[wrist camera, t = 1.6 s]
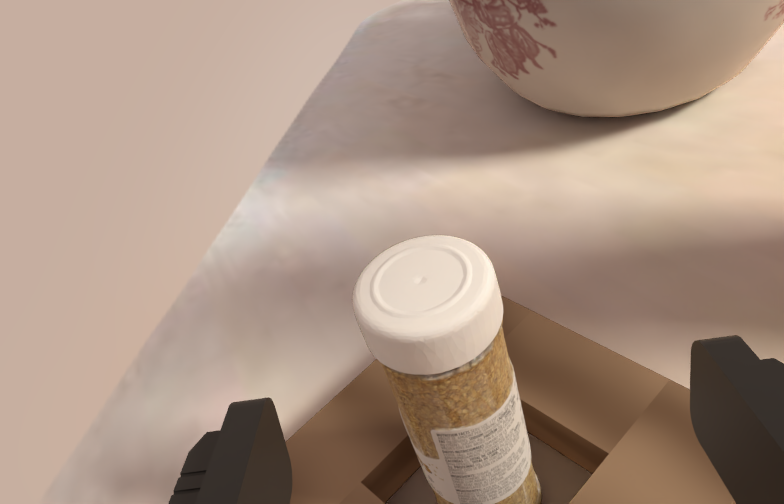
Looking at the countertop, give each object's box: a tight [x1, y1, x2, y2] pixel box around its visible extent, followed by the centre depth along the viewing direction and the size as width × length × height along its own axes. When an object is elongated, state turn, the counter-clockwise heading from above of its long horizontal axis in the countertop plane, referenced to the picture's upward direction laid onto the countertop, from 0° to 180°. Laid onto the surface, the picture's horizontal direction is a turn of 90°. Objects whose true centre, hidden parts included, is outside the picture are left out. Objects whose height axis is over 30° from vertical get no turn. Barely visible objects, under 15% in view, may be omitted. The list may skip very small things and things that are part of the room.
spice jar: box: [352, 235, 542, 504], centre depth 25 cm, size 5×5×13 cm
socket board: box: [285, 296, 736, 504], centre depth 29 cm, size 16×16×2 cm
